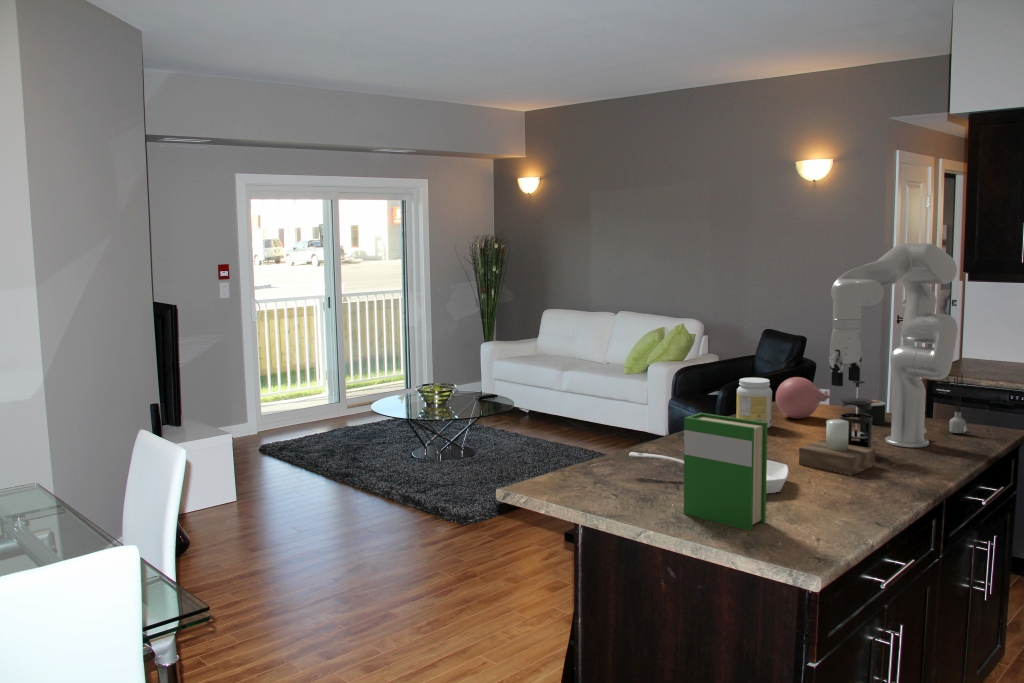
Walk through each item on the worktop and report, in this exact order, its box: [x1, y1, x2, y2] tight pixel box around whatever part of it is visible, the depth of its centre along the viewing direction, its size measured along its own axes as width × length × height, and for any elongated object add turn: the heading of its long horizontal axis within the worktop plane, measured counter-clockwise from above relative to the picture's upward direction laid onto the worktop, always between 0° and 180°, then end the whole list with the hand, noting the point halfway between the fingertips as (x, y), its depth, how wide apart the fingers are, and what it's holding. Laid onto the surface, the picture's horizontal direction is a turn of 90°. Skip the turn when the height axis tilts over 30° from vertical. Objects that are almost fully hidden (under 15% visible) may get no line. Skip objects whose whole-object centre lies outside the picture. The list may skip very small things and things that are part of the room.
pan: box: [628, 451, 789, 495], centre depth 224 cm, size 28×43×7 cm, turn 70°
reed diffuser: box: [945, 374, 968, 434], centre depth 271 cm, size 10×7×20 cm
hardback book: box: [683, 412, 768, 532], centre depth 192 cm, size 18×7×24 cm, turn 46°
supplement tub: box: [735, 377, 773, 429], centre depth 287 cm, size 12×12×17 cm
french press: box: [840, 380, 873, 449], centre depth 247 cm, size 12×9×23 cm
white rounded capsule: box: [825, 418, 849, 451], centre depth 235 cm, size 6×6×8 cm
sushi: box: [858, 399, 886, 425], centre depth 290 cm, size 8×8×8 cm
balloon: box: [775, 376, 832, 420], centre depth 297 cm, size 15×20×15 cm
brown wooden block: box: [798, 439, 876, 476], centre depth 236 cm, size 14×16×5 cm
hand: (845, 383), depth 234 cm, fingers open, 9 cm apart
